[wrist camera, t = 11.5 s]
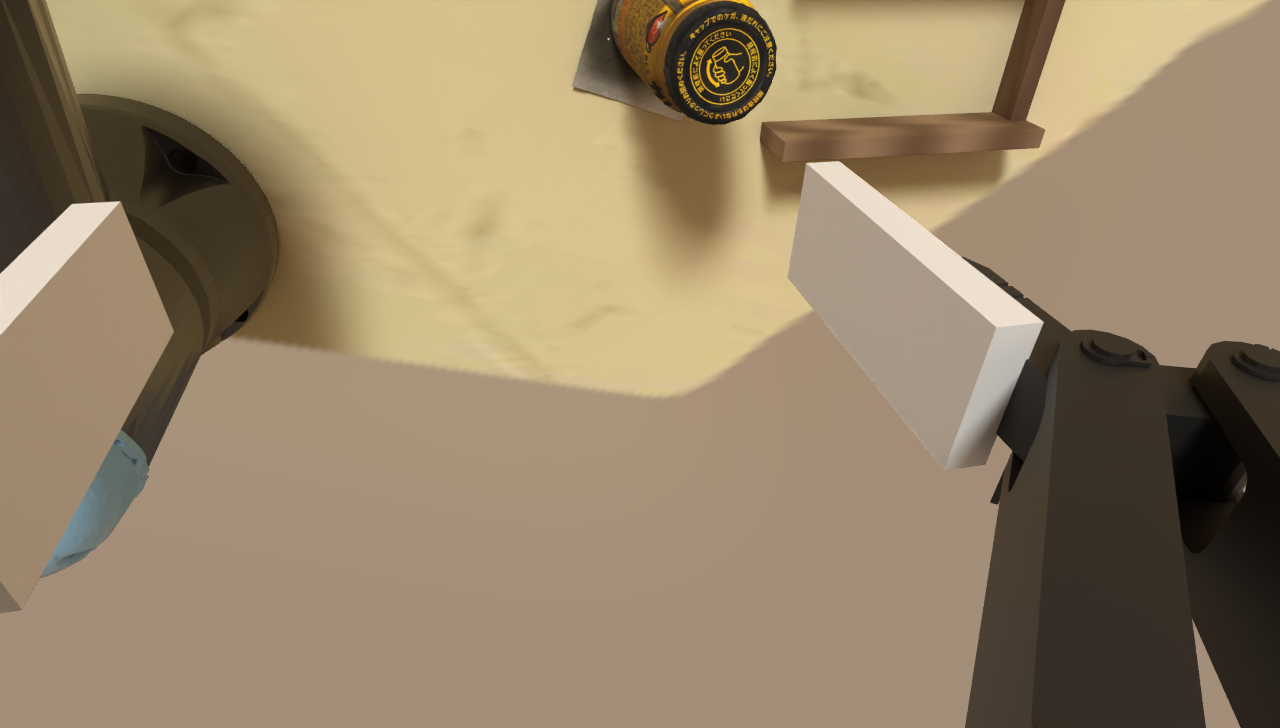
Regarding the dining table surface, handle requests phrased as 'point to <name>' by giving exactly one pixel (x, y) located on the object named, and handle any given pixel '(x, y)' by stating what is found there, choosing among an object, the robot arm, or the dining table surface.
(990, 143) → the walnut shelf lane
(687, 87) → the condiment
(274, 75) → the dining table surface
